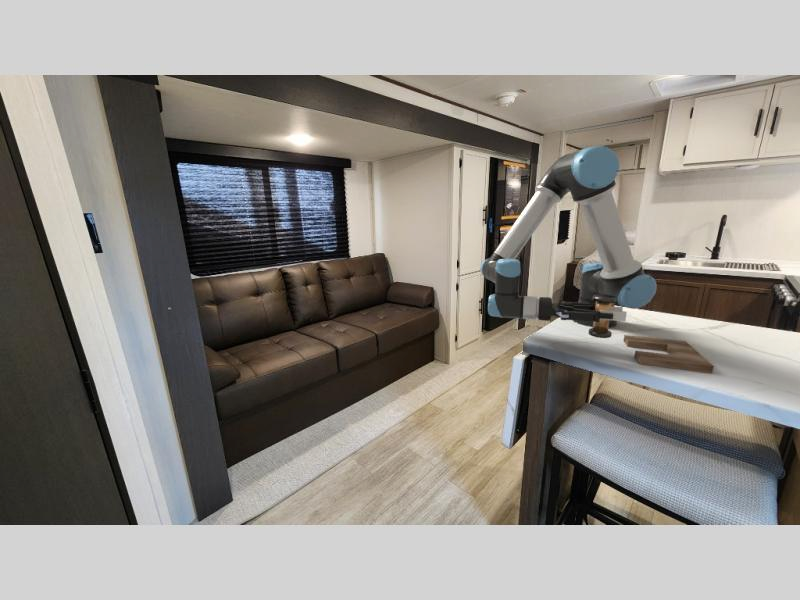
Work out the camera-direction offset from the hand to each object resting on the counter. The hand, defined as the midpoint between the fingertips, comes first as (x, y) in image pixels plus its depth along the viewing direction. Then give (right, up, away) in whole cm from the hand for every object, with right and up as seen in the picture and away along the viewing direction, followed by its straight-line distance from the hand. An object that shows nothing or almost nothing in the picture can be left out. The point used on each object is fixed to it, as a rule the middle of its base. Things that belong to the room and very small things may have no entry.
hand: (623, 313), depth 94 cm
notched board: (+12, -12, +1) cm, 17 cm away
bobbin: (-5, -6, +4) cm, 9 cm away
